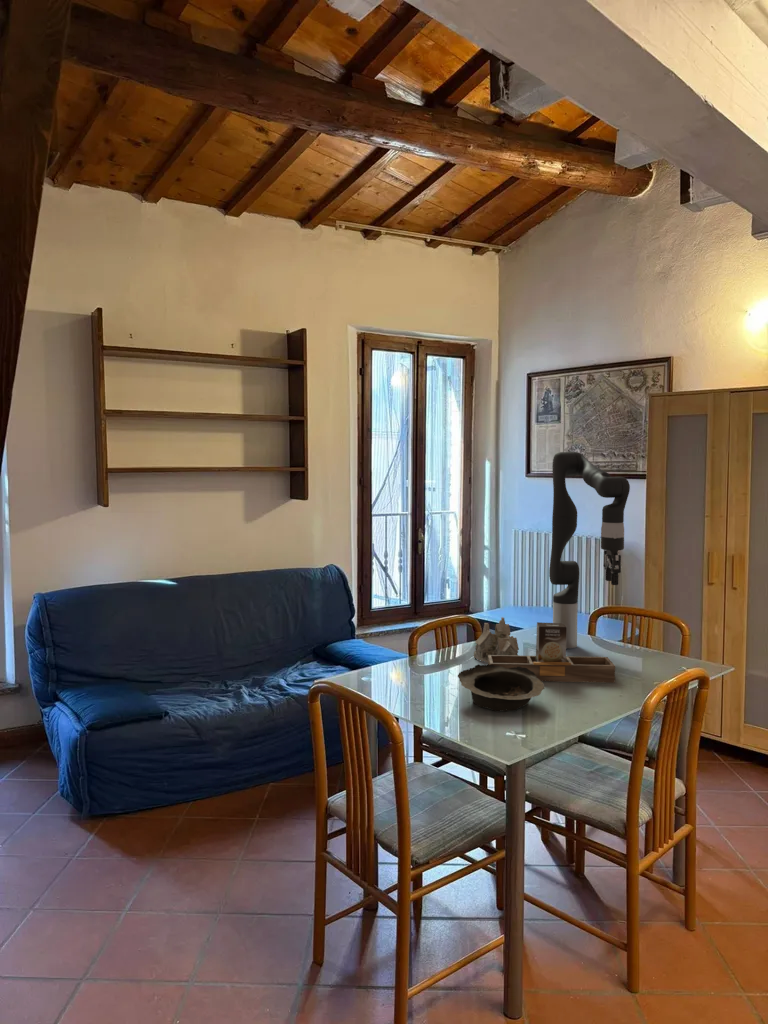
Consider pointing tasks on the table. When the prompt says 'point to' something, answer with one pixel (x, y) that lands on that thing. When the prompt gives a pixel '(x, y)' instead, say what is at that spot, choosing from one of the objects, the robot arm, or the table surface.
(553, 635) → the coffee box
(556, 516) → the robot arm
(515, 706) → the stone bowl
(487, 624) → the ceramic cottage
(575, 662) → the brown wooden compartment tray
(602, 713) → the table surface
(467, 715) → the table surface
